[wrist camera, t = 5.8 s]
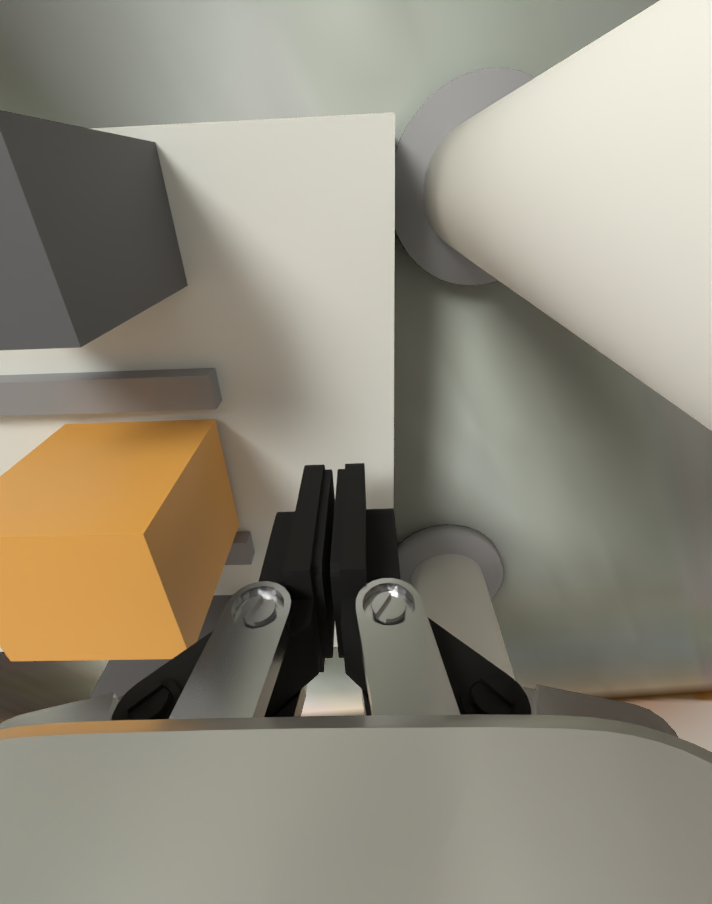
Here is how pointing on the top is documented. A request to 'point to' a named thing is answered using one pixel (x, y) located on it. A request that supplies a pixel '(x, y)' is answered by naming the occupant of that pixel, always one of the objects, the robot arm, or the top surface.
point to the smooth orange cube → (113, 541)
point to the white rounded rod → (583, 193)
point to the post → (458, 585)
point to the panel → (205, 302)
